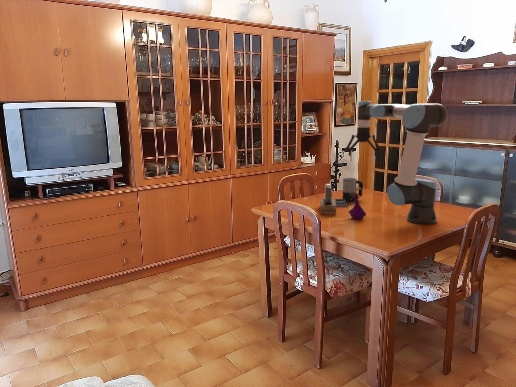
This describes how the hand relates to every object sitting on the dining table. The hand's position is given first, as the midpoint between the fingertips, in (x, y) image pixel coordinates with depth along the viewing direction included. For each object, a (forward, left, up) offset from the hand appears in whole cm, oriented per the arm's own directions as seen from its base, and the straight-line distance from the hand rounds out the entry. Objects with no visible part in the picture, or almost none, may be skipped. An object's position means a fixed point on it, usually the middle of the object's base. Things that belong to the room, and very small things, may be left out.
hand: (362, 161), depth 250 cm
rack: (-13, +21, -29) cm, 38 cm away
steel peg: (-8, +21, -27) cm, 35 cm away
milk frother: (+18, +6, -29) cm, 35 cm away
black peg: (-18, +21, -27) cm, 39 cm away
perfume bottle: (-29, +5, -29) cm, 41 cm away
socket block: (+2, +13, -29) cm, 32 cm away
